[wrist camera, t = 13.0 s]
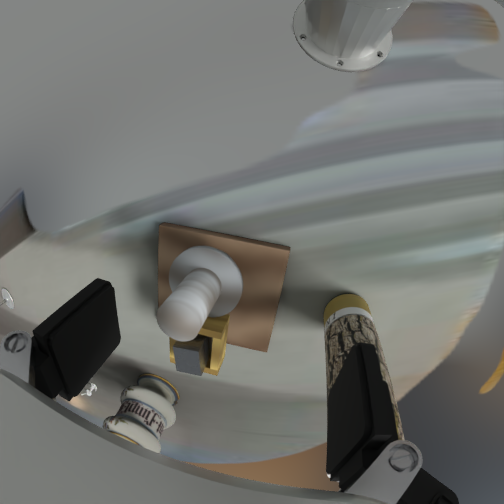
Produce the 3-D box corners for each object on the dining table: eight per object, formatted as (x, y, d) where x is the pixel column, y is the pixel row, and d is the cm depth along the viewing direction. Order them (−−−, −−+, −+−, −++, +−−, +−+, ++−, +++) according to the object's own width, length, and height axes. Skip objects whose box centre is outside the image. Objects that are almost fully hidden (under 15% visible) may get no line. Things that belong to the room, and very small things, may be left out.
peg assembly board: (164, 218, 39) (96, 259, 25) (291, 243, 37) (281, 304, 23) (162, 320, 46) (116, 381, 32) (267, 347, 44) (250, 424, 30)
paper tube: (367, 288, 38) (414, 441, 15) (368, 327, 40) (400, 475, 17) (320, 295, 39) (325, 455, 16) (325, 333, 41) (327, 486, 18)
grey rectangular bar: (202, 300, 41) (172, 346, 31) (223, 303, 41) (198, 351, 31) (203, 323, 43) (176, 370, 33) (223, 326, 42) (201, 375, 32)
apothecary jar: (180, 414, 56) (151, 476, 39) (133, 392, 56) (97, 448, 40) (188, 385, 51) (153, 457, 34) (134, 360, 52) (89, 423, 35)
